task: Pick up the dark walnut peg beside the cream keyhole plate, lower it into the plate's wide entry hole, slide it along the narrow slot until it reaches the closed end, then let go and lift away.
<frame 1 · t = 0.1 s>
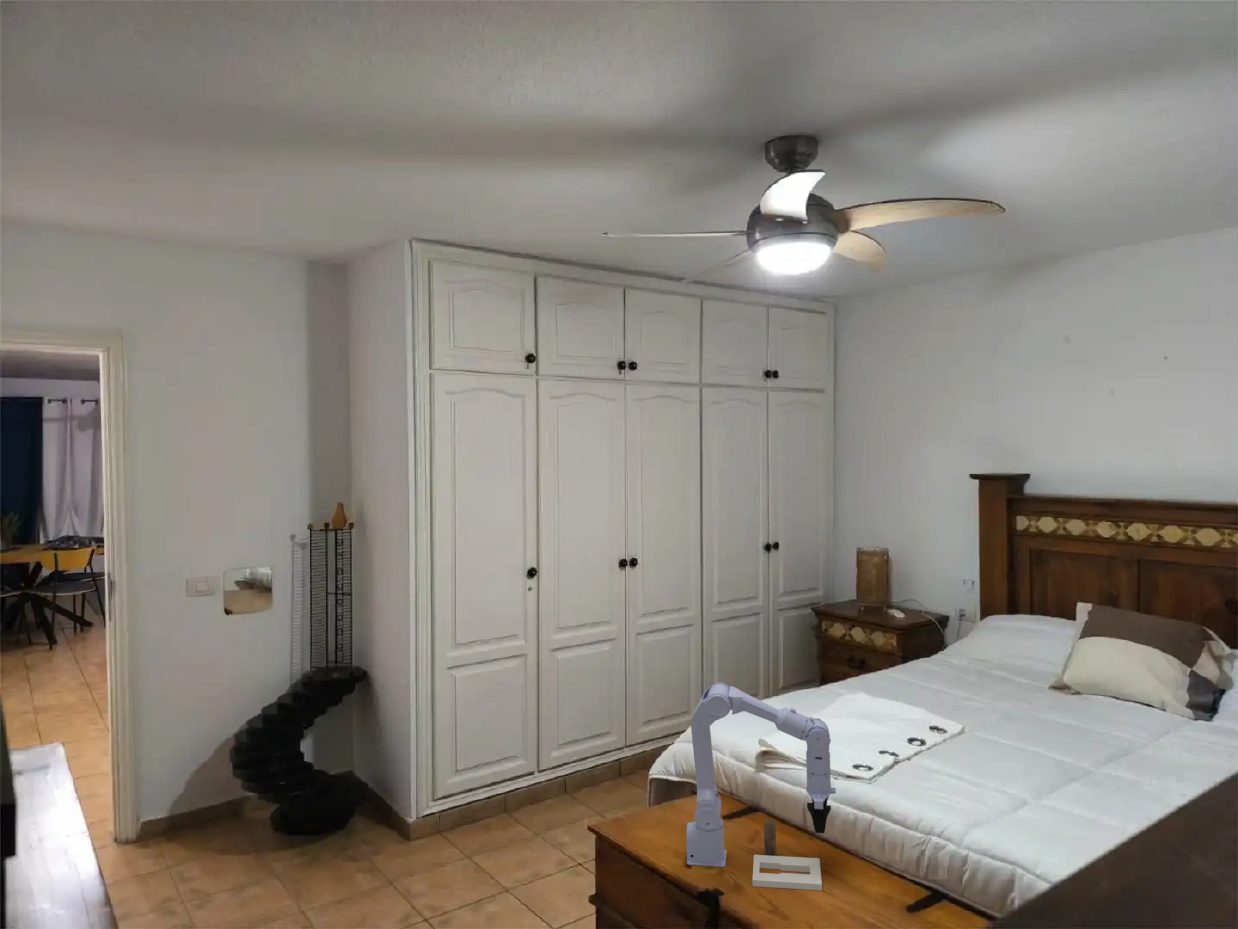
hand: (819, 825, 206), 10 cm above the table, tool pointing down, fingers open, 7 cm apart
peg: (770, 853, 213), on the table
keyhole plate: (786, 875, 202), on the table
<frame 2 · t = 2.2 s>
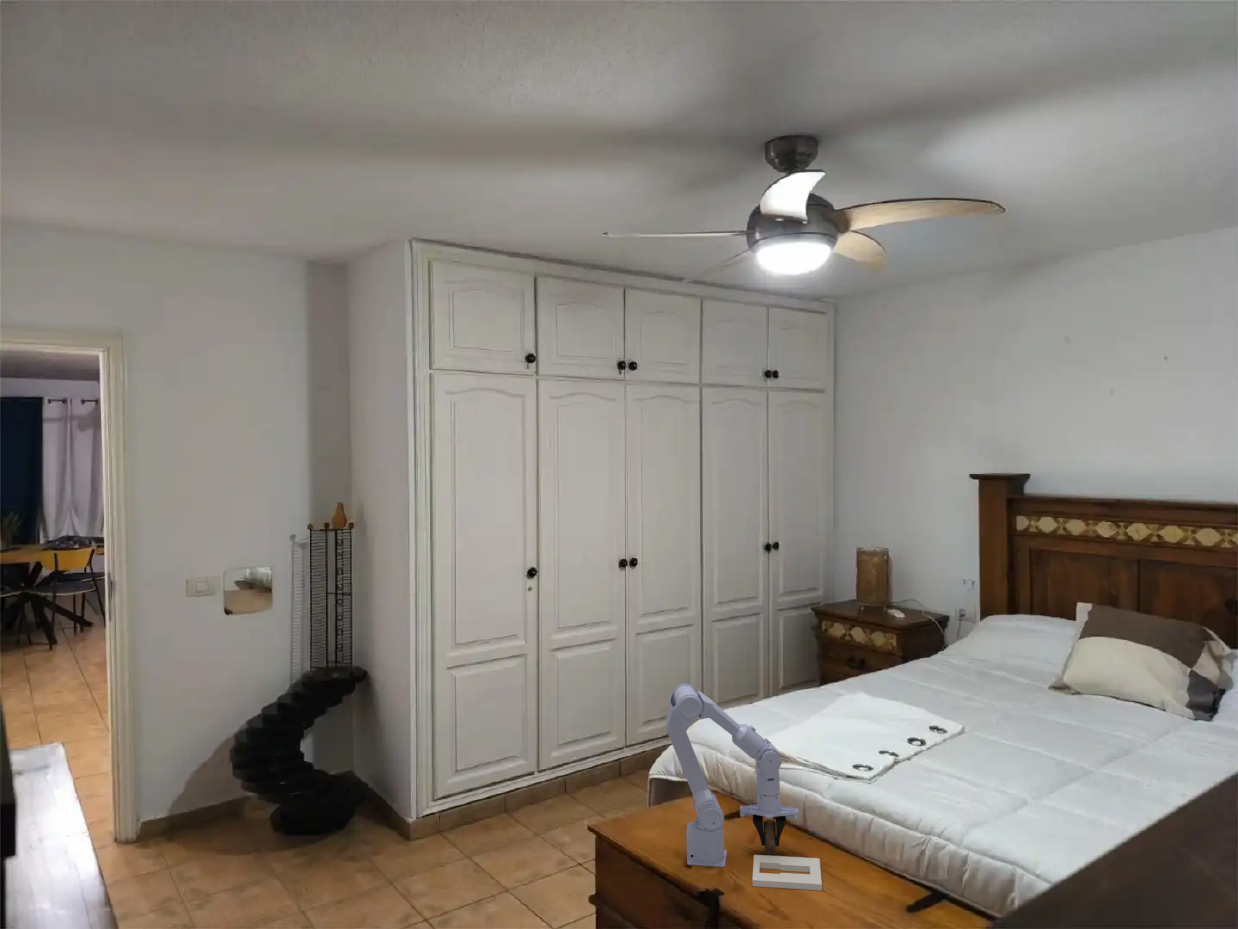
hand: (770, 844, 213), 2 cm above the table, tool pointing down, fingers closed on peg, 3 cm apart
peg: (770, 853, 213), on the table, touching gripper
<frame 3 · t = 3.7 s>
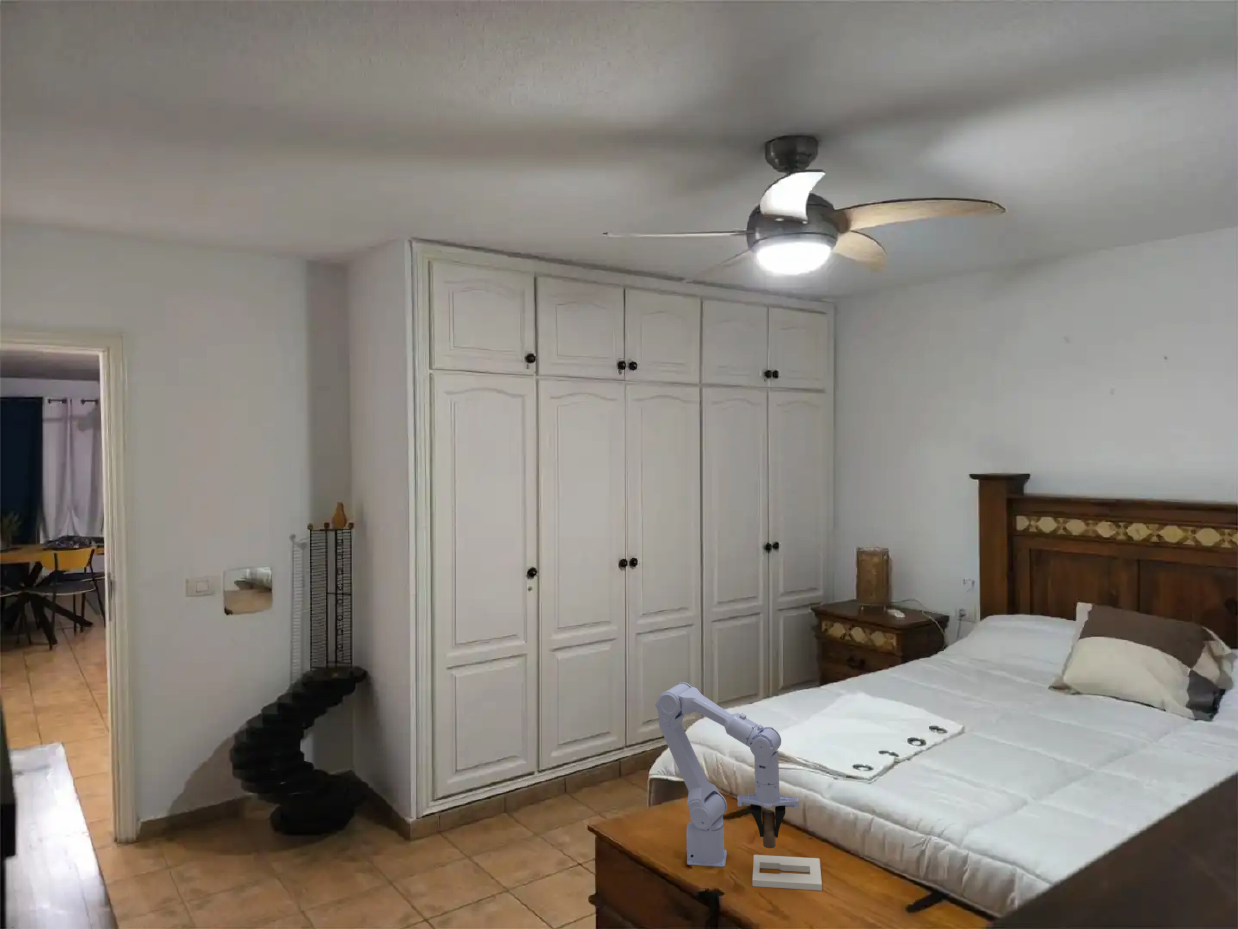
hand: (768, 835, 203), 9 cm above the table, tool pointing down, fingers closed on peg, 3 cm apart
peg: (769, 845, 203), point 7 cm above the table, touching gripper
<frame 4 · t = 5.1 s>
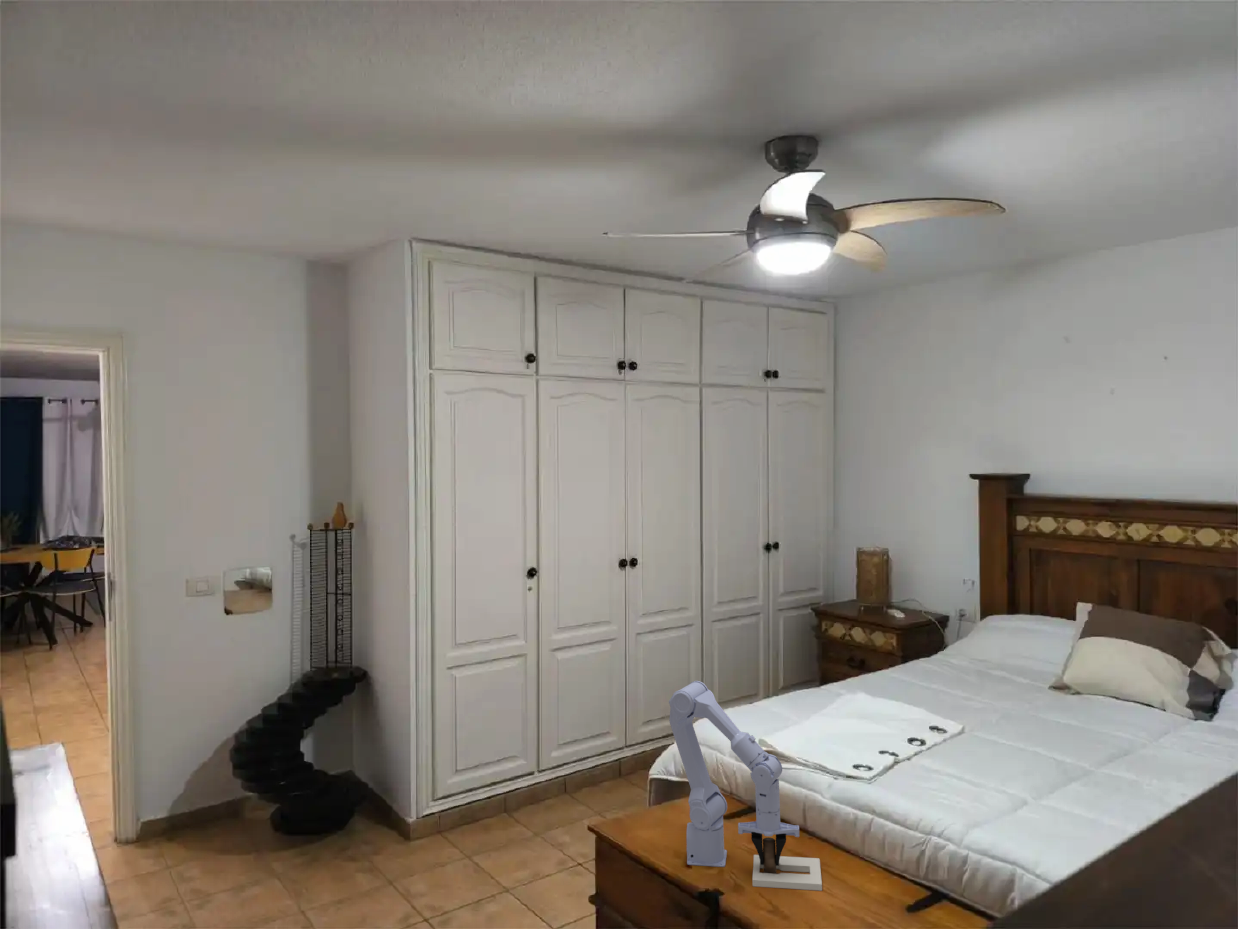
hand: (769, 863, 203), 3 cm above the table, tool pointing down, fingers closed on peg, 3 cm apart
peg: (770, 873, 203), resting in keyhole plate, touching gripper
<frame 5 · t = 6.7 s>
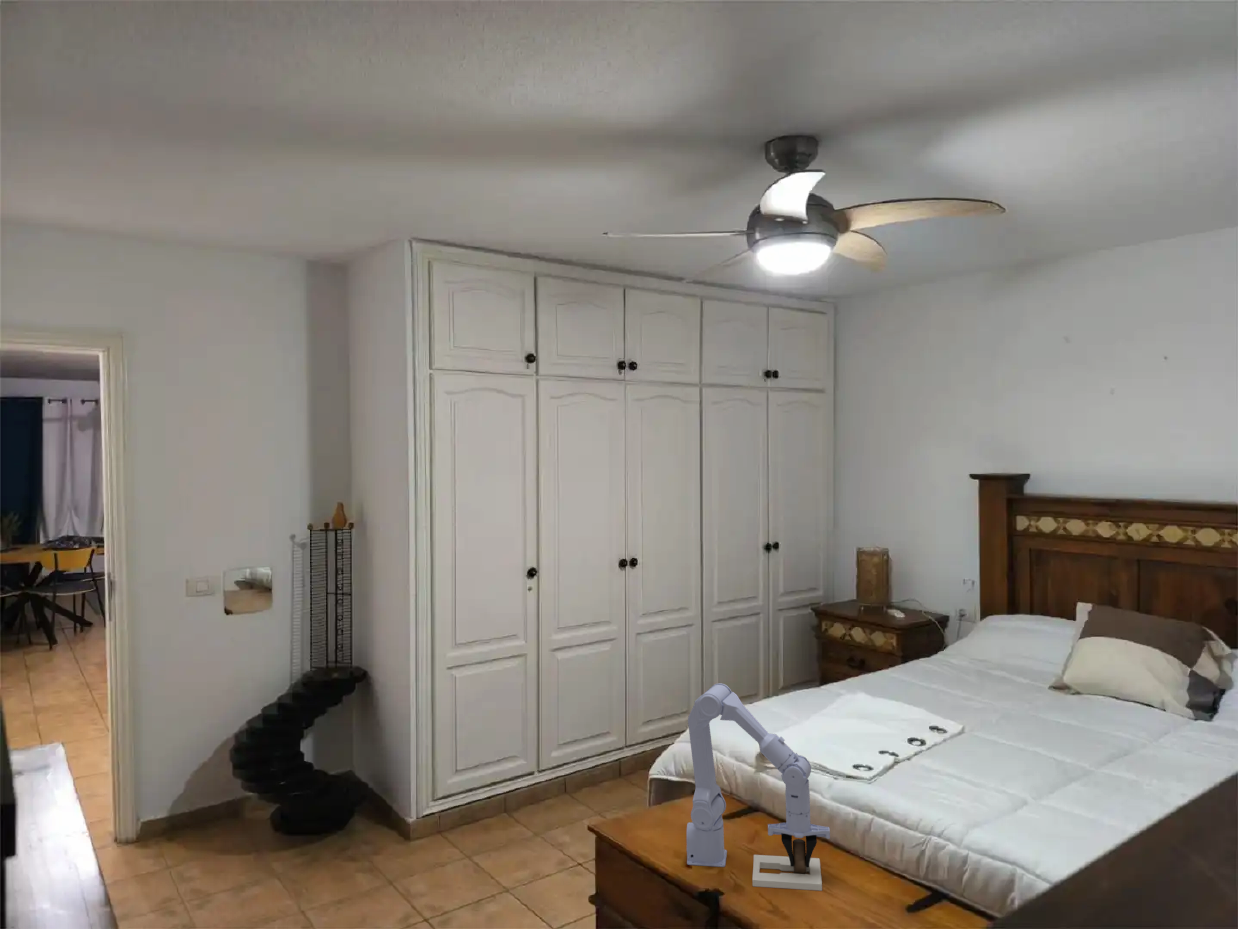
hand: (799, 865, 202), 3 cm above the table, tool pointing down, fingers closed on peg, 3 cm apart
peg: (800, 875, 202), resting in keyhole plate, touching gripper
when the fingers open (3 cm above the table, at t = 8.0 s): peg stays where it is, resting in keyhole plate.
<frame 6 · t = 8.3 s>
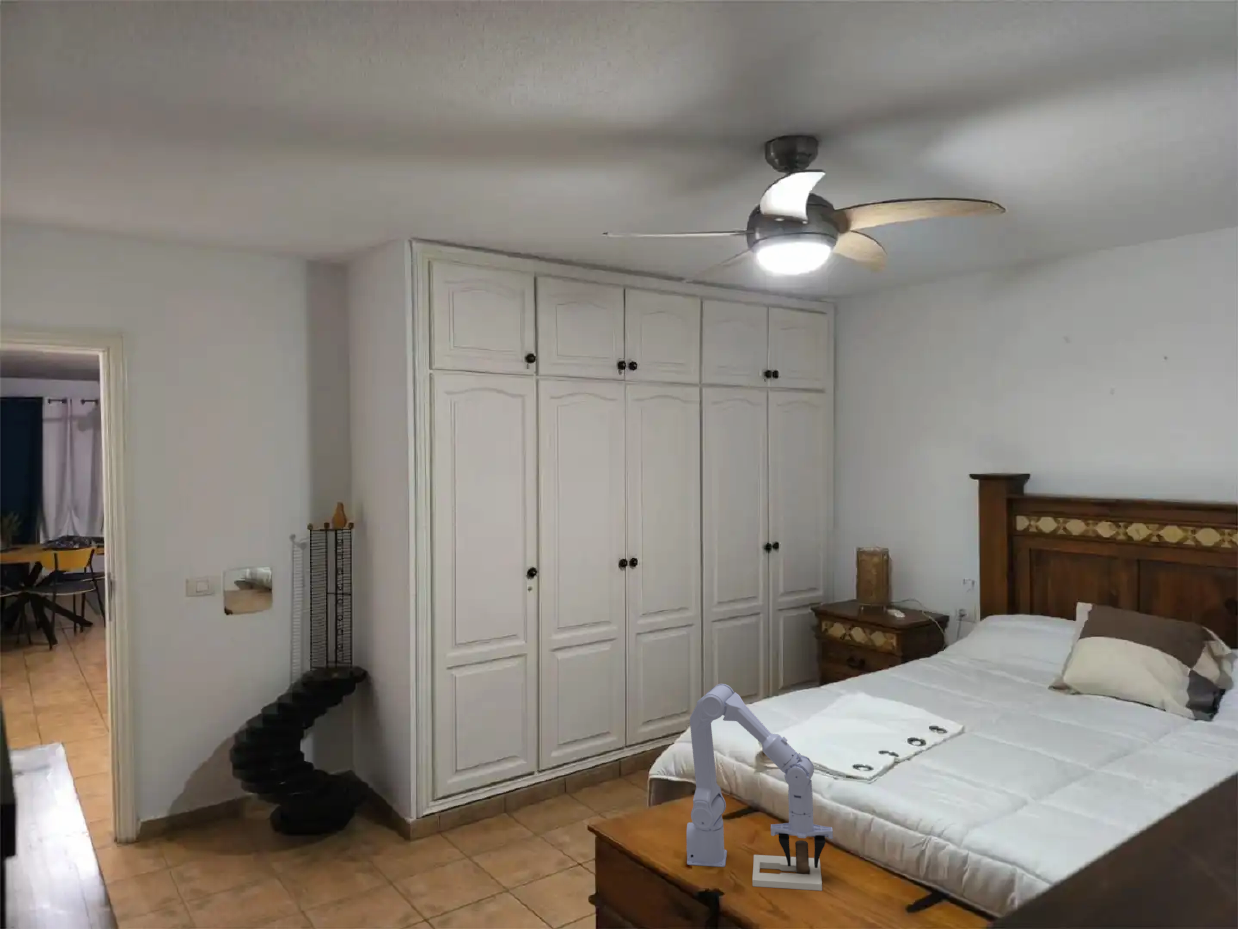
hand: (802, 865, 201), 3 cm above the table, tool pointing down, fingers open, 6 cm apart
peg: (802, 876, 202), resting in keyhole plate
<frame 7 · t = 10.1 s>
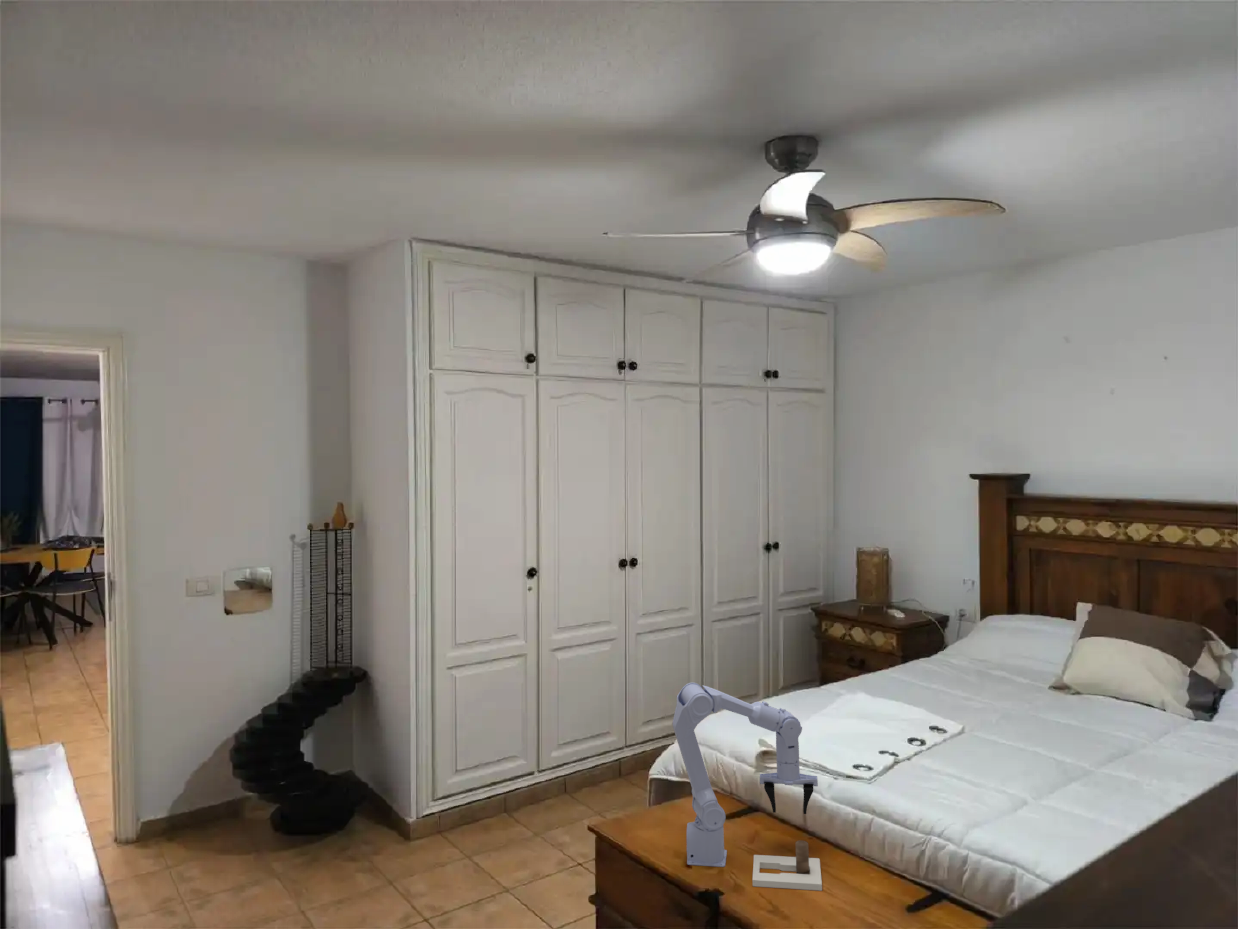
hand: (789, 811, 215), 9 cm above the table, tool pointing down, fingers open, 7 cm apart
nothing on the table moved.
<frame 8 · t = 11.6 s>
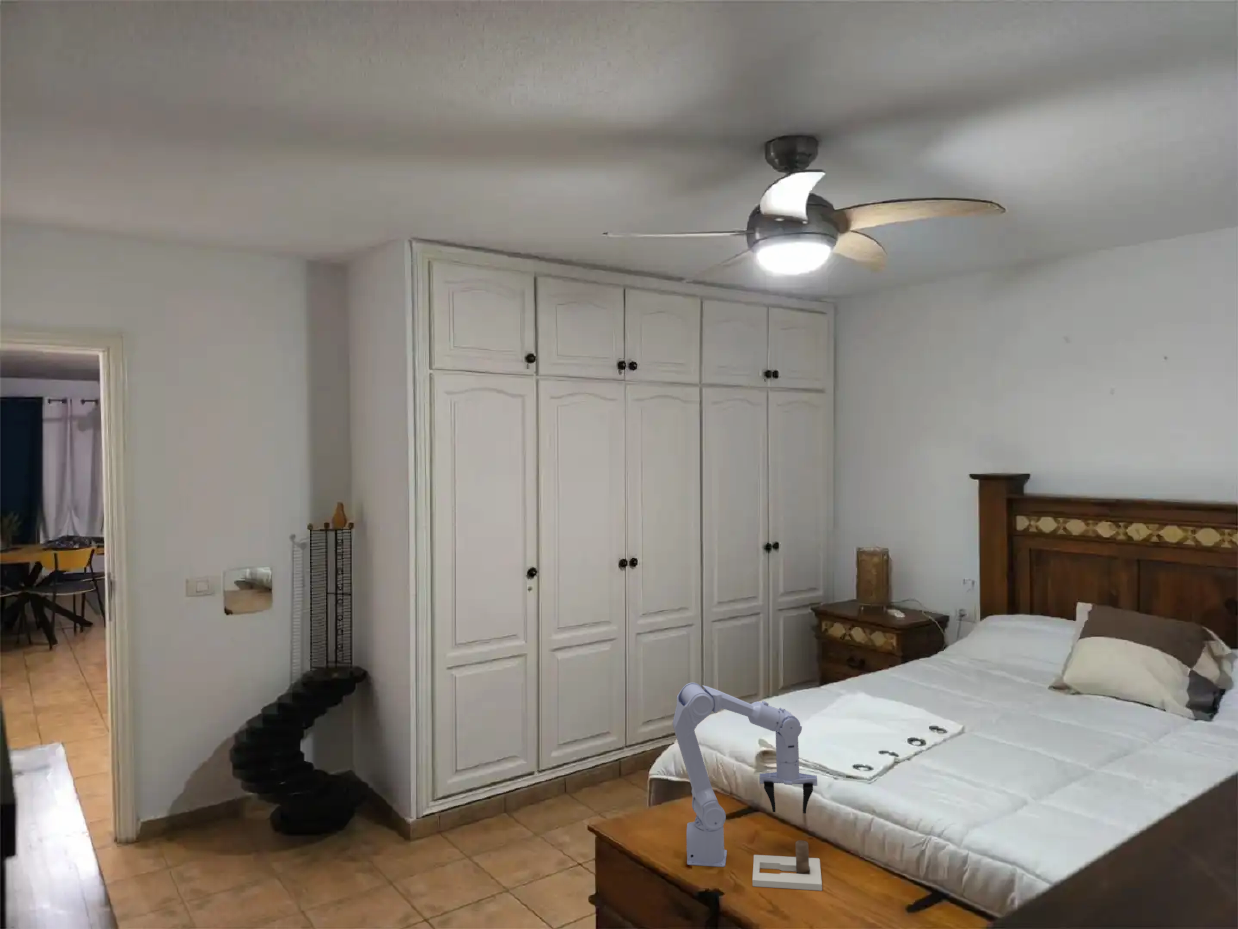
hand: (789, 811, 215), 9 cm above the table, tool pointing down, fingers open, 7 cm apart
nothing on the table moved.
at the end: peg 0.0 cm from the target spot on the keyhole plate, point 0.0 cm above the keyhole plate's base; peg tilted 0°; the gripper is holding nothing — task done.
